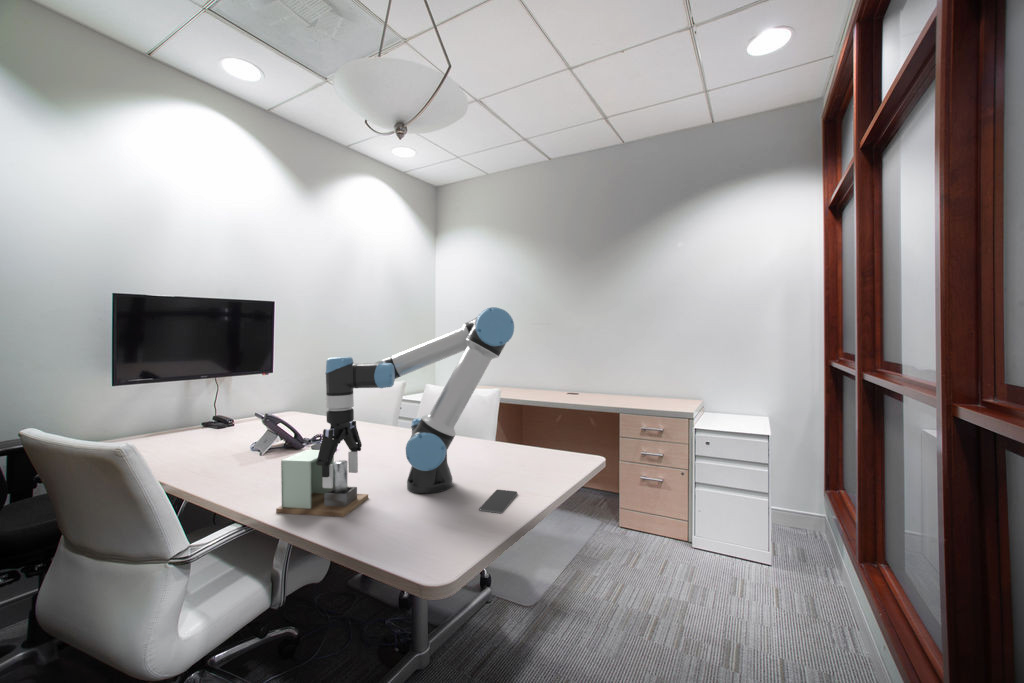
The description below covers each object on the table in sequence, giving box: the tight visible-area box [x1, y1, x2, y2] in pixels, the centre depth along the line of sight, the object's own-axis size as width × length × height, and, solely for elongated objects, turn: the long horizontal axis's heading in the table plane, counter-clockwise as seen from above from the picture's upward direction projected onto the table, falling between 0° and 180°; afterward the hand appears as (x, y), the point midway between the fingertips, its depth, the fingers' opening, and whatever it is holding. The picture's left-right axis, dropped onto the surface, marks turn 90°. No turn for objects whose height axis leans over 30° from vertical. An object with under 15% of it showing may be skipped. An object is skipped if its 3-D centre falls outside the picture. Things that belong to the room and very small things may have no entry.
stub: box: [333, 459, 349, 494], centre depth 124 cm, size 4×4×12 cm
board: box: [275, 486, 369, 518], centre depth 125 cm, size 21×14×5 cm, turn 81°
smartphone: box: [478, 489, 518, 515], centre depth 127 cm, size 7×1×16 cm
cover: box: [280, 449, 335, 509], centre depth 126 cm, size 9×12×14 cm
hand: (341, 479), depth 125 cm, fingers open, 13 cm apart
